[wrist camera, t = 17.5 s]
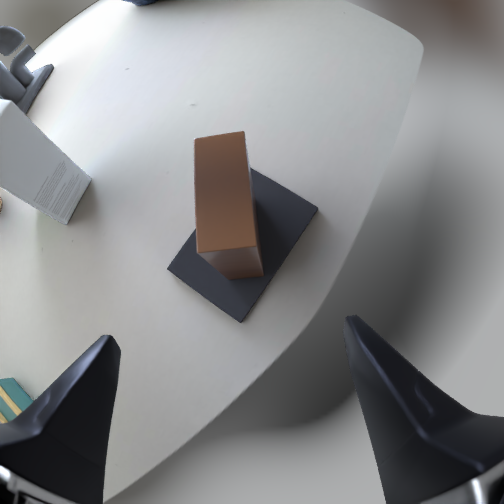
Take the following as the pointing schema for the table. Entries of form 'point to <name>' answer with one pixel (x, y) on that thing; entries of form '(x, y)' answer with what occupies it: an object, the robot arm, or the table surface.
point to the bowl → (141, 2)
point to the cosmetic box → (37, 166)
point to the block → (226, 206)
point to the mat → (272, 249)
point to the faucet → (19, 71)
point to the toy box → (12, 400)
